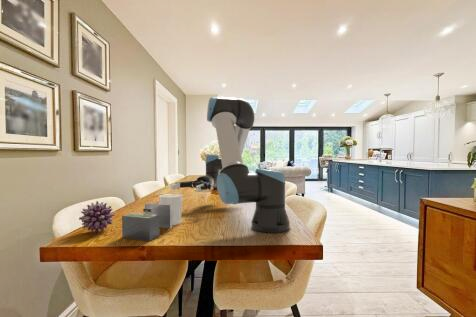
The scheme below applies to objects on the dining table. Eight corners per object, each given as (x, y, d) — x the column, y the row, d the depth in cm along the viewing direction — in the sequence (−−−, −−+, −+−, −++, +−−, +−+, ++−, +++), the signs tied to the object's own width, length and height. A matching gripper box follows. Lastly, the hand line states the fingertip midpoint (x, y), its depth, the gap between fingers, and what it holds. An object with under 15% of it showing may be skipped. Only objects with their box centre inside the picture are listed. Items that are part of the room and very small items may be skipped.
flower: (116, 233, 91) (115, 202, 91) (78, 239, 85) (77, 205, 84) (114, 225, 101) (113, 197, 101) (80, 230, 95) (79, 200, 94)
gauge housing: (159, 236, 87) (158, 214, 87) (149, 241, 82) (149, 217, 82) (132, 233, 91) (132, 212, 91) (122, 237, 86) (121, 215, 86)
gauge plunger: (172, 227, 94) (171, 204, 94) (160, 233, 88) (160, 208, 87) (147, 224, 98) (146, 202, 98) (134, 230, 92) (133, 206, 91)
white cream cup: (176, 227, 98) (176, 197, 98) (154, 225, 100) (154, 197, 100) (186, 220, 108) (186, 193, 108) (166, 219, 110) (165, 193, 110)
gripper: (225, 190, 131) (207, 197, 111) (185, 188, 139) (162, 194, 119) (225, 176, 130) (207, 181, 110) (185, 175, 138) (161, 179, 118)
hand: (184, 188), depth 114 cm, fingers open, 13 cm apart
